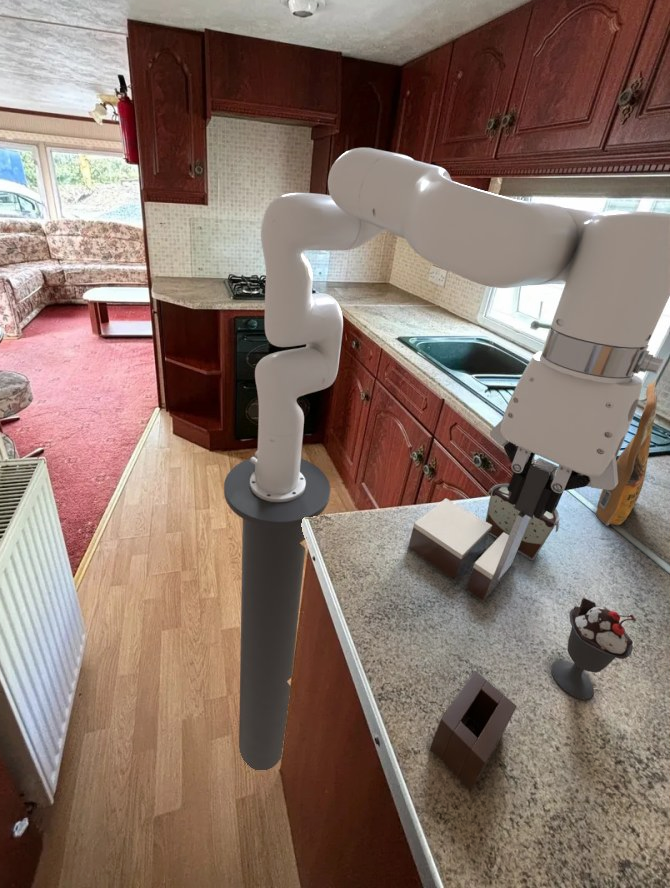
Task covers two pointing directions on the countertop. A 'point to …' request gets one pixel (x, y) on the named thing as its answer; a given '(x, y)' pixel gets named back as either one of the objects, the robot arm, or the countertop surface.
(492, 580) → the cake slice
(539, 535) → the ice cream dessert
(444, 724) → the knife block
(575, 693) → the sundae
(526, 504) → the knife
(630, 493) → the pancake mix bag
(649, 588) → the countertop surface
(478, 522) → the cake
